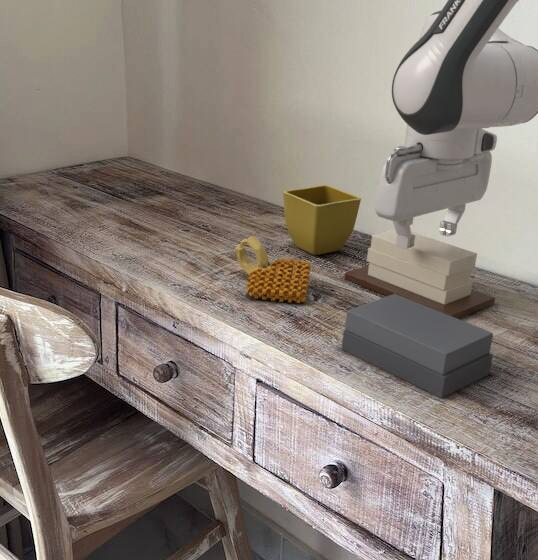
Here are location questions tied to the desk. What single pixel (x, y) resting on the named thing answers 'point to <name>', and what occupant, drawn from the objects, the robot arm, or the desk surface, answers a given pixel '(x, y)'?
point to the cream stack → (420, 285)
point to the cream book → (426, 253)
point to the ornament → (273, 274)
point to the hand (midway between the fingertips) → (426, 240)
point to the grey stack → (418, 344)
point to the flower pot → (320, 217)
